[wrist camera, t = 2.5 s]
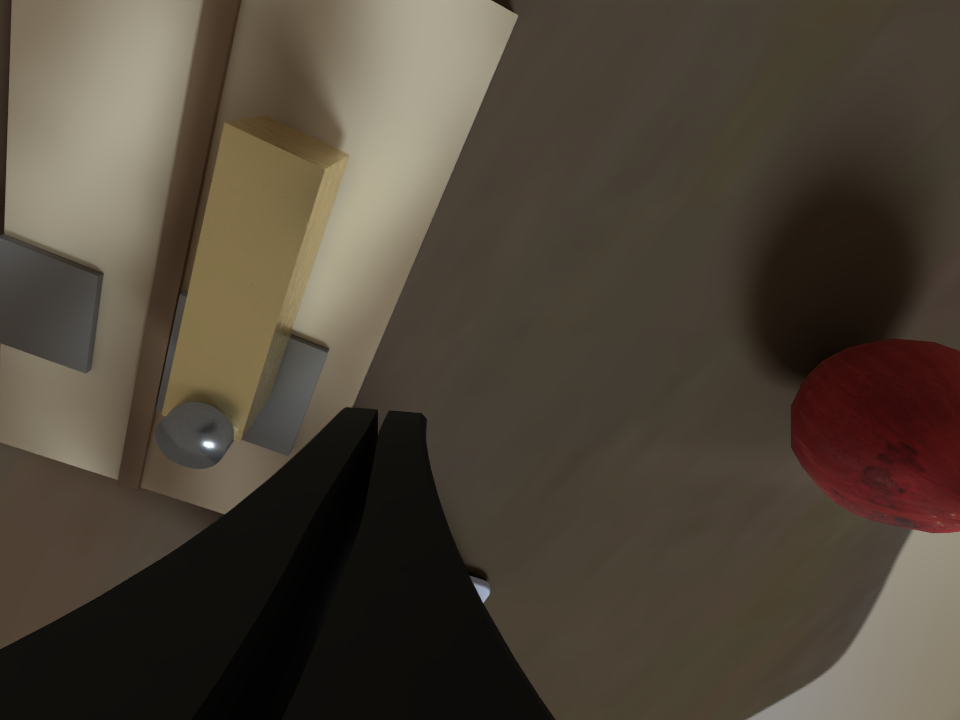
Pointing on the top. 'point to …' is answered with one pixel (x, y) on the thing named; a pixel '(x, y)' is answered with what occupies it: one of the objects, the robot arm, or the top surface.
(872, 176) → the top surface
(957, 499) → the onion
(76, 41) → the door board
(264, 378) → the swing bar
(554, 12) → the top surface
